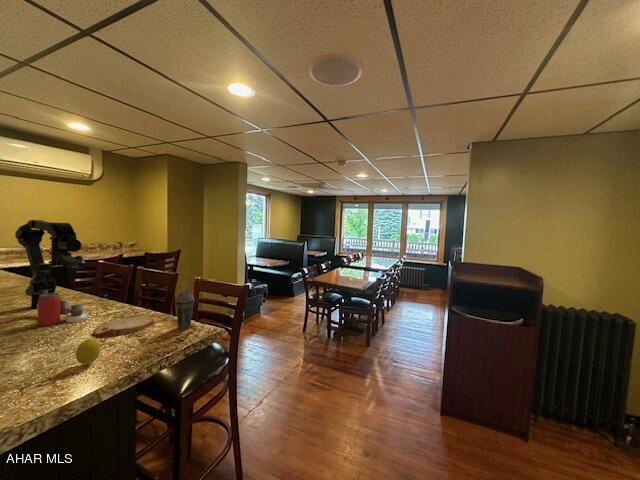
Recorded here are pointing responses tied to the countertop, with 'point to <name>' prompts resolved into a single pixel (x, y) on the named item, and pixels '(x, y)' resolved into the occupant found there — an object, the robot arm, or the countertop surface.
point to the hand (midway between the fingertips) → (59, 283)
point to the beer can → (49, 309)
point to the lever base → (76, 318)
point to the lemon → (87, 352)
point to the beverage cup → (184, 309)
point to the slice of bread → (123, 326)
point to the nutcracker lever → (66, 306)
